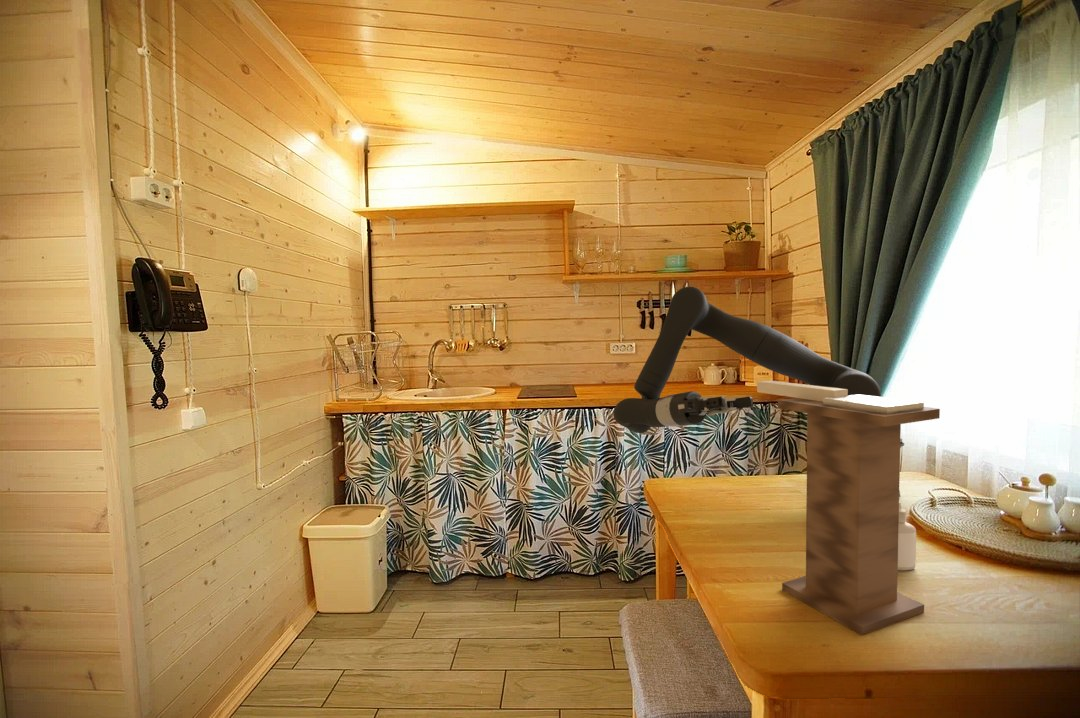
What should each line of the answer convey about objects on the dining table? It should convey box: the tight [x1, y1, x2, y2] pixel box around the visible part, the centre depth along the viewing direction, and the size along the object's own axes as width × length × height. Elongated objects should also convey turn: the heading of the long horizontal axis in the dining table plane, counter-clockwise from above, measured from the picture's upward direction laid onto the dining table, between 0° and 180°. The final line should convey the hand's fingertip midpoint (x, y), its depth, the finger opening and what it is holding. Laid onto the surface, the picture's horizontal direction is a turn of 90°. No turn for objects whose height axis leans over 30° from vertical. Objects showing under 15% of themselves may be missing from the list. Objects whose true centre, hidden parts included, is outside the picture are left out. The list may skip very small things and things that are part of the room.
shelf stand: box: [777, 397, 941, 636], centre depth 82 cm, size 18×14×32 cm
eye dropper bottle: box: [898, 501, 917, 571], centre depth 93 cm, size 4×6×12 cm
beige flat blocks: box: [756, 379, 925, 414], centre depth 85 cm, size 26×8×2 cm, turn 23°
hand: (738, 401), depth 105 cm, fingers open, 8 cm apart
